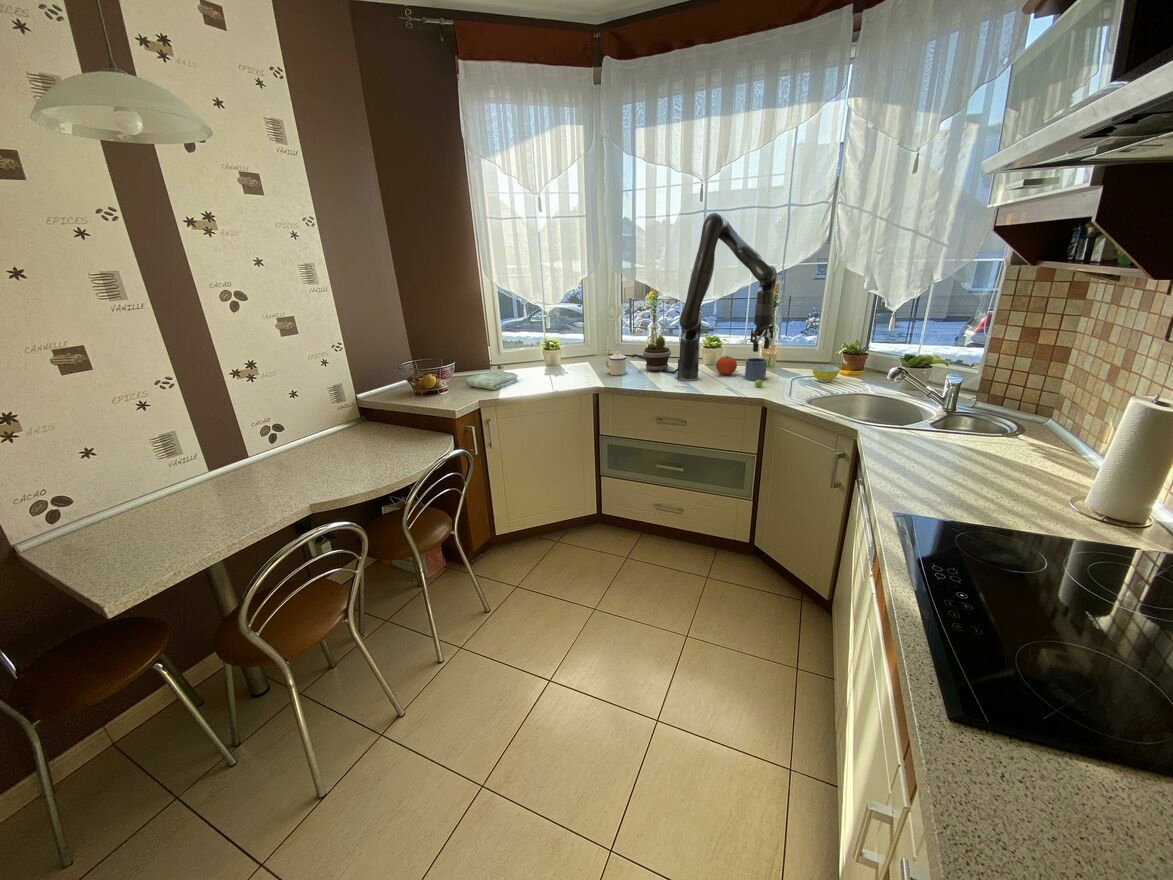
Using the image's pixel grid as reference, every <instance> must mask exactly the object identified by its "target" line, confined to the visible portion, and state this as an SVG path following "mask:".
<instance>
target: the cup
mask: <svg viewBox="0 0 1173 880" xmlns="http://www.w3.org/2000/svg"><path fill="white" fill-rule="evenodd" d="M767 366H768V359H766V358H761V357H750V358H746V359H745V371H744V380H747V381H753V382H755V381H756V380H762V381H764V380H766V377H767Z"/></svg>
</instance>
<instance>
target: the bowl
mask: <svg viewBox="0 0 1173 880" xmlns="http://www.w3.org/2000/svg"><path fill="white" fill-rule="evenodd" d="M840 371H841V368H839V367H838V366H835V365H834V366H833V365H815V366H812V374H813V376H814V377H815V378H816V379H817V380H818V382H819V383H830V381H831V380H833V379H835V378H836V377H837V376H838V375H839V373H840Z"/></svg>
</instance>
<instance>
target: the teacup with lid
mask: <svg viewBox="0 0 1173 880" xmlns="http://www.w3.org/2000/svg"><path fill="white" fill-rule="evenodd" d="M608 362H609V363H608ZM605 366H606V368H608V369H609V374H610V376H624V375H626V374H627V356H626V355H624V354H622V353H620V351H615V353H613V354H612V355H610V356H609V357H608V359H606V360H605Z"/></svg>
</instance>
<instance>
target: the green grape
mask: <svg viewBox="0 0 1173 880" xmlns="http://www.w3.org/2000/svg"><path fill="white" fill-rule="evenodd" d="M763 384H764V382H763V380H756V381H754V385H755V387H756V388H761V387H762V386H763Z"/></svg>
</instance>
